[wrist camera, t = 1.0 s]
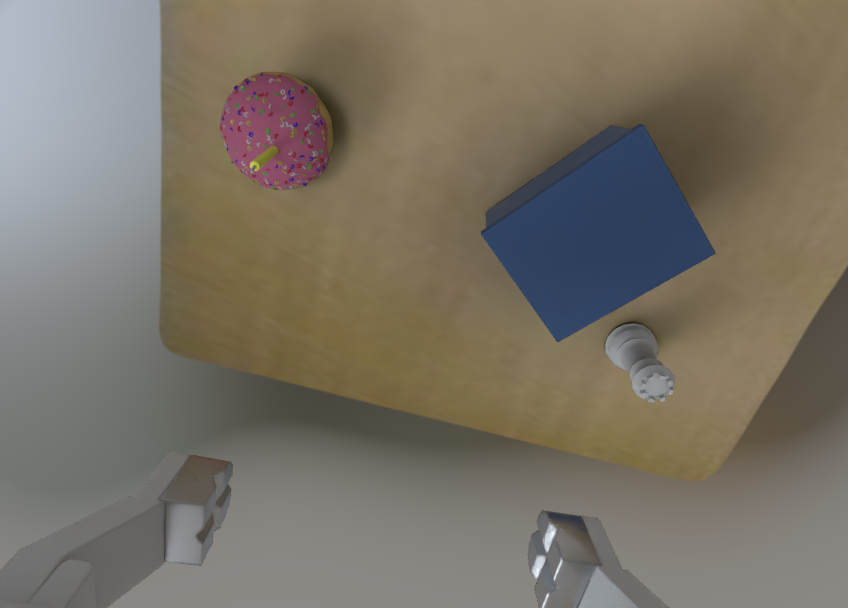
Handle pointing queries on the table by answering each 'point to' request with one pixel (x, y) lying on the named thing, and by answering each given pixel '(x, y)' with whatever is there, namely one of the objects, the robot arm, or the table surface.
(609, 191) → the blue box
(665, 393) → the rook chess piece
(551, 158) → the table surface
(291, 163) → the cupcake
